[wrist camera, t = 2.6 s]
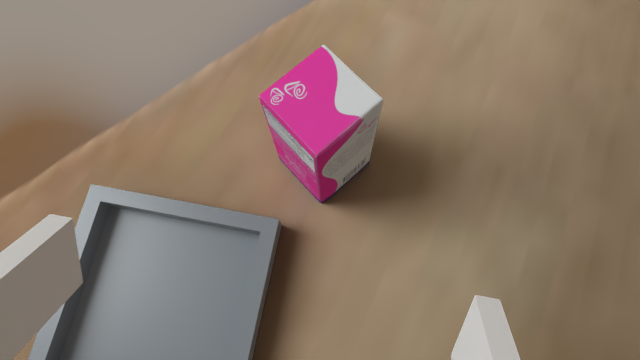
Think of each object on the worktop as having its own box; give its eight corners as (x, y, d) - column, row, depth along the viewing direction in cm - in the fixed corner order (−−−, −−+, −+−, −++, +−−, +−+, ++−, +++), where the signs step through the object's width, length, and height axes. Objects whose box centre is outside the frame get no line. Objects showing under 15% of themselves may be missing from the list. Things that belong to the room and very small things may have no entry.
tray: (281, 225, 36) (279, 219, 34) (236, 429, 32) (230, 439, 29) (105, 192, 37) (91, 184, 35) (38, 386, 32) (16, 391, 30)
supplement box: (325, 116, 39) (325, 39, 28) (370, 162, 38) (390, 101, 27) (275, 157, 38) (256, 93, 27) (320, 206, 36) (319, 160, 25)
